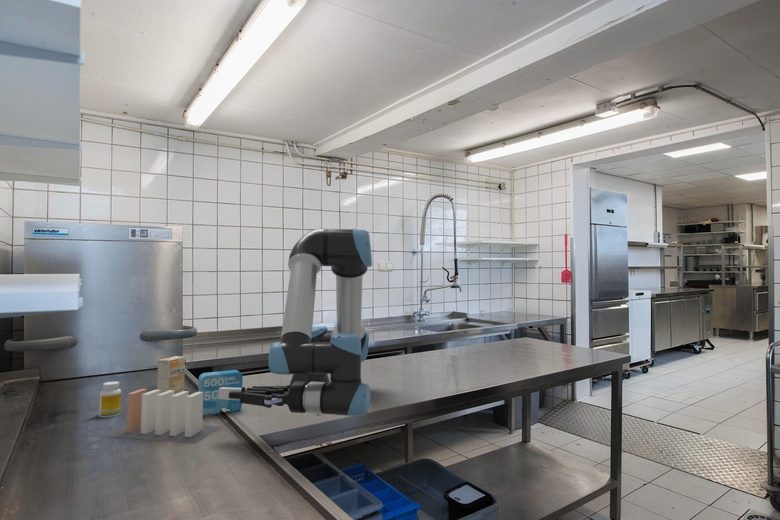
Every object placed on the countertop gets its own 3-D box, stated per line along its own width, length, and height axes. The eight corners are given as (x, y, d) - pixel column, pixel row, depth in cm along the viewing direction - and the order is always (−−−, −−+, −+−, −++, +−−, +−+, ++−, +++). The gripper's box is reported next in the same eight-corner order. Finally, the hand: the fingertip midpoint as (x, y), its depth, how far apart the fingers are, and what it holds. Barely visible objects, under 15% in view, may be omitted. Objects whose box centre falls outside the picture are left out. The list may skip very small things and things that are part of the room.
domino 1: (145, 426, 116) (147, 389, 116) (131, 432, 111) (133, 393, 111) (140, 426, 116) (141, 388, 116) (126, 432, 111) (127, 393, 112)
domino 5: (202, 430, 113) (203, 392, 113) (190, 436, 108) (191, 397, 109) (196, 429, 113) (197, 391, 114) (184, 436, 108) (185, 396, 109)
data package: (200, 417, 125) (201, 376, 125) (197, 413, 129) (198, 373, 129) (242, 411, 131) (242, 371, 132) (238, 407, 135) (239, 369, 136)
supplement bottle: (95, 416, 125) (96, 383, 126) (115, 411, 130) (116, 380, 130) (104, 419, 122) (105, 385, 123) (124, 414, 127) (125, 382, 127)
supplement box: (168, 399, 144) (169, 360, 144) (156, 398, 145) (157, 359, 145) (184, 393, 152) (186, 356, 152) (173, 392, 153) (174, 355, 153)
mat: (222, 428, 116) (222, 426, 116) (195, 444, 104) (195, 443, 104) (137, 422, 120) (137, 421, 120) (102, 437, 108) (102, 436, 108)
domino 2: (159, 427, 115) (160, 389, 116) (146, 433, 110) (147, 394, 111) (154, 426, 115) (155, 389, 116) (140, 433, 110) (142, 394, 111)
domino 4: (187, 429, 114) (188, 391, 114) (175, 435, 109) (176, 396, 109) (182, 428, 114) (183, 390, 114) (169, 435, 109) (171, 395, 109)
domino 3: (173, 428, 114) (174, 390, 115) (160, 434, 109) (162, 395, 110) (168, 427, 115) (169, 390, 115) (155, 434, 110) (156, 395, 110)
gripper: (297, 420, 99) (204, 415, 103) (316, 405, 112) (233, 401, 116) (298, 387, 99) (205, 383, 103) (316, 376, 112) (233, 373, 116)
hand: (220, 393), depth 109 cm, fingers closed
